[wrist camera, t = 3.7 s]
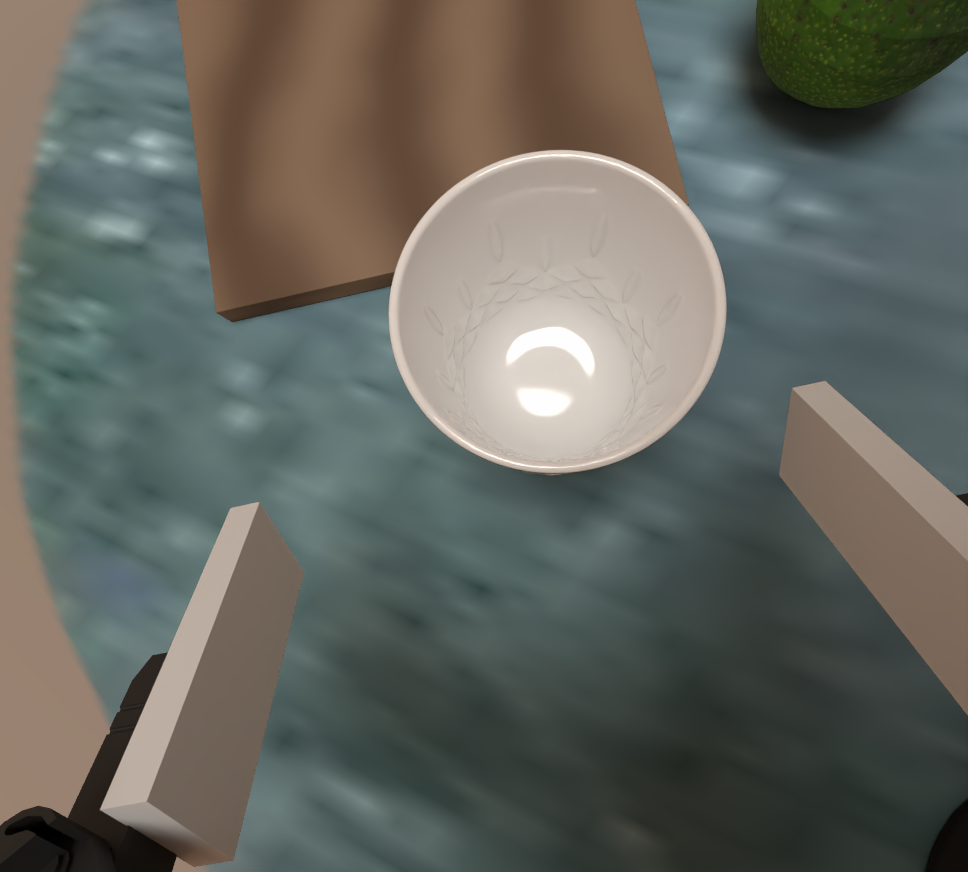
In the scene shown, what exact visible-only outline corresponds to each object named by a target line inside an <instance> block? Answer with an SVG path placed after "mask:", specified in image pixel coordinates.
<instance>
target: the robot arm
mask: <svg viewBox="0 0 968 872" xmlns="http://www.w3.org/2000/svg"><path fill="white" fill-rule="evenodd" d="M779 476H780V477H781V478H782V480H783V481H784V482H785V483H786V485H787V486H788V487H789V489H790V490H791V491H792V492H793V494H794V495H795V496H796V497H797V499H798V500H799V501H800V503H801V504H802V505H803V506H804V508H805V509H806V510H807V511H808V513H809V514H810V515H811V517H812V518H813V519H814V520H815V522H816V523H817V524H818V525H819V527H820V528H821V529H822V531H823V532H824V533H825V534H826V536H827V537H828V538H829V539H830V541H831V542H832V543H833V545H834V546H835V547H836V548H837V550H838V551H839V552H840V553H841V555H842V556H843V557H844V559H845V560H846V561H847V562H848V564H849V565H850V566H851V567H852V569H853V570H854V571H855V573H856V574H857V575H858V576H859V578H860V579H861V580H862V581H863V583H864V584H865V585H866V587H867V588H868V589H869V590H870V592H871V593H872V594H873V595H874V597H875V598H876V599H877V601H878V602H879V603H880V604H881V606H882V607H883V608H884V609H885V611H886V612H887V613H888V615H889V616H890V617H891V618H892V620H893V621H894V622H895V623H896V625H897V626H898V627H899V629H900V630H901V631H902V632H903V634H904V635H905V636H906V637H907V639H908V640H909V641H910V643H911V644H912V645H913V646H914V648H915V649H916V650H917V651H918V653H919V654H920V655H921V657H922V658H923V659H924V660H925V662H926V663H927V664H928V665H929V667H930V668H931V669H932V671H933V672H934V673H935V674H936V676H937V677H938V678H939V679H940V681H941V682H942V683H943V685H944V686H945V687H946V688H947V690H948V691H949V692H950V693H951V695H952V696H953V697H954V699H955V700H956V701H957V702H958V704H959V705H960V706H961V707H962V709H963V710H964V711H965V713H966V714H967V715H968V493H967V494H962V495H957V496H955V495H954V494H953V493H952V492H951V491H950V490H948V489H947V488H946V487H945V486H944V485H943V484H942V483H940V482H939V481H938V480H937V479H936V478H935V477H934V476H933V475H931V474H930V473H929V472H928V471H927V470H926V469H925V468H923V467H922V466H921V465H920V464H919V463H918V462H917V461H915V460H914V459H913V458H912V457H911V456H910V455H909V454H908V453H906V452H905V451H904V450H903V449H902V448H901V447H900V446H898V445H897V444H896V443H895V442H894V441H893V440H892V439H890V438H889V437H888V436H887V435H886V434H885V433H884V432H883V431H881V430H880V429H879V428H878V427H877V426H876V425H875V424H873V423H872V422H871V421H870V420H869V419H868V418H867V417H866V416H864V415H863V414H862V413H861V412H860V411H859V410H858V409H856V408H855V407H854V406H853V405H852V404H851V403H850V402H848V401H847V400H846V399H845V398H844V397H843V396H842V395H841V394H839V393H838V392H837V391H836V390H835V389H834V388H833V387H831V386H830V385H829V384H828V383H827V382H826V381H822V382H818V383H813V384H808V385H804V386H799V387H794V388H792V390H791V397H790V404H789V411H788V417H787V424H786V431H785V438H784V445H783V451H782V458H781V465H780V472H779ZM303 574H304V571H303V570H302V568H301V566H300V565H299V563H298V562H297V560H296V558H295V557H294V555H293V554H292V552H291V551H290V549H289V547H288V546H287V544H286V543H285V541H284V540H283V538H282V536H281V535H280V533H279V532H278V530H277V529H276V527H275V525H274V524H273V522H272V521H271V519H270V518H269V516H268V514H267V513H266V511H265V510H264V508H263V506H262V505H261V503H260V502H257V503H252V504H248V505H243V506H238V507H234V508H230V511H229V513H228V515H227V518H226V520H225V522H224V525H223V527H222V529H221V532H220V534H219V536H218V538H217V541H216V543H215V545H214V548H213V550H212V552H211V555H210V557H209V559H208V562H207V564H206V566H205V568H204V571H203V573H202V575H201V578H200V580H199V582H198V585H197V587H196V589H195V591H194V594H193V596H192V598H191V601H190V603H189V605H188V608H187V610H186V612H185V615H184V617H183V619H182V621H181V624H180V626H179V628H178V631H177V633H176V635H175V638H174V640H173V642H172V644H171V647H170V649H169V651H168V652H167V653H162V654H157V655H152V657H151V658H150V659H149V660H148V662H147V663H146V664H145V665H144V667H143V668H142V669H141V670H140V672H139V673H138V674H137V675H136V677H135V678H134V679H133V680H132V682H131V684H130V686H129V689H128V691H127V693H126V695H125V697H124V699H123V701H122V703H121V706H120V709H121V710H120V712H117V714H116V716H115V718H114V720H113V723H112V725H111V727H110V734H108V735H106V738H105V740H104V742H103V744H102V746H101V748H100V750H99V752H98V755H97V757H96V759H95V761H94V763H93V765H92V767H91V769H90V772H89V774H88V776H87V778H86V780H85V782H84V784H83V786H82V789H81V791H80V793H79V795H78V797H77V799H76V801H75V803H74V806H73V808H72V810H71V812H70V814H69V816H68V818H66V817H65V816H62V815H61V814H59V813H57V812H56V811H54V810H52V809H50V808H46V807H41V806H36V807H33V808H30V809H26V810H23V811H21V812H19V813H18V814H16V815H15V816H13V817H11V818H10V819H9V820H7V821H5V822H4V823H3V824H2V825H1V826H0V872H172V870H173V866H174V863H175V860H176V857H179V858H180V859H182V860H183V861H185V862H187V863H188V864H190V865H192V866H193V867H196V866H202V865H208V864H214V863H220V862H226V861H232V860H234V856H235V852H236V848H237V844H238V840H239V836H240V832H241V828H242V824H243V820H244V815H245V811H246V807H247V803H248V799H249V795H250V791H251V787H252V783H253V779H254V775H255V771H256V766H257V762H258V758H259V754H260V750H261V746H262V742H263V738H264V734H265V730H266V726H267V721H268V717H269V713H270V709H271V705H272V701H273V697H274V693H275V689H276V685H277V681H278V677H279V672H280V668H281V664H282V660H283V656H284V652H285V648H286V644H287V640H288V636H289V632H290V627H291V623H292V619H293V615H294V611H295V607H296V603H297V599H298V595H299V591H300V587H301V582H302V578H303Z"/></svg>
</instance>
